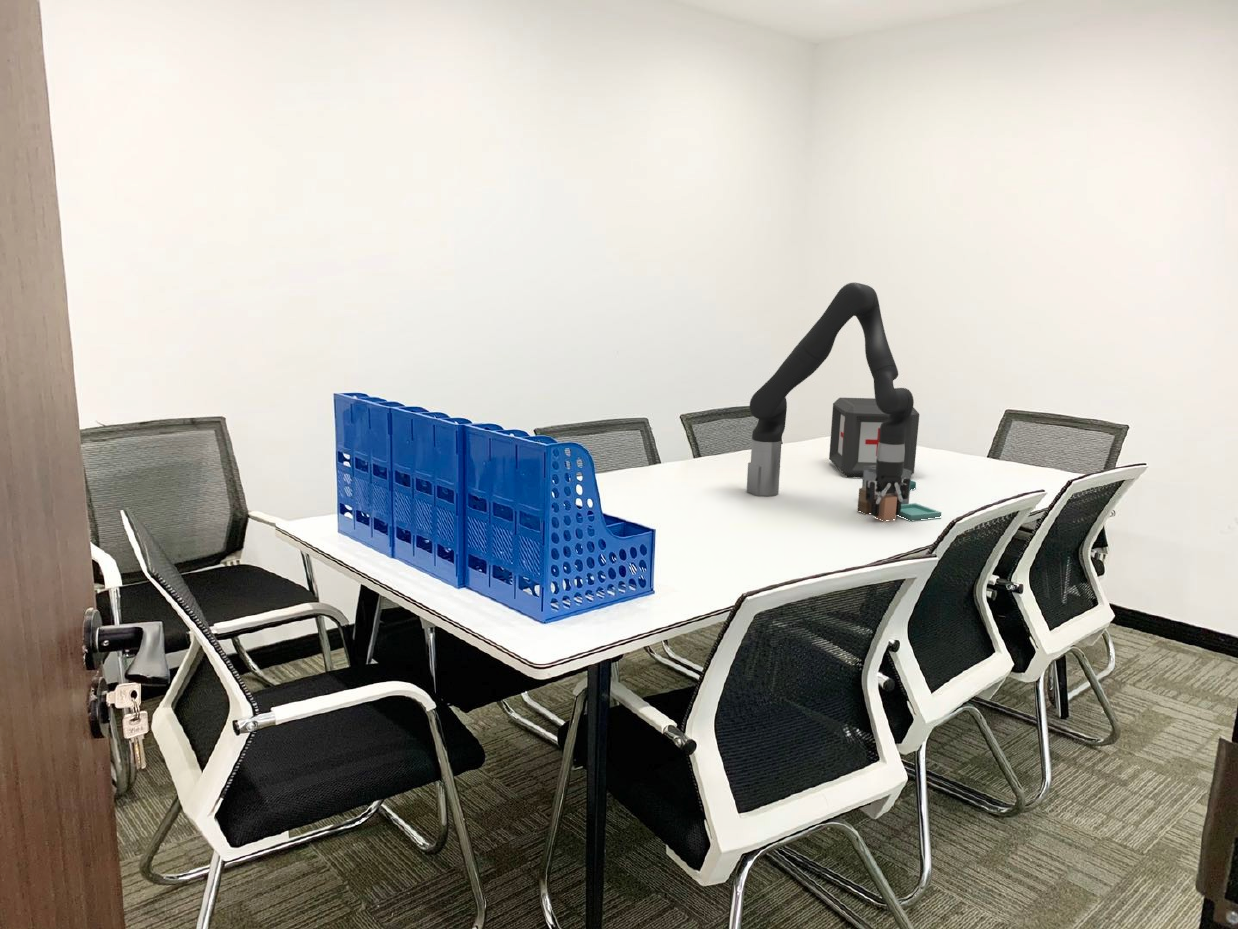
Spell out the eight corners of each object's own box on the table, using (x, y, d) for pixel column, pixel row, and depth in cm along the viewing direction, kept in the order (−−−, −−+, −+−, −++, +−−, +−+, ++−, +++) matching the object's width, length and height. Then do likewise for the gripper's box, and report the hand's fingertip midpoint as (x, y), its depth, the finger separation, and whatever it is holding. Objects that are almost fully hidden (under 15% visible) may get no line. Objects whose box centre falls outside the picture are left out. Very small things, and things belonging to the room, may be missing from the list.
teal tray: (910, 521, 258) (911, 515, 258) (885, 511, 268) (886, 506, 268) (940, 518, 263) (941, 512, 262) (914, 508, 273) (915, 503, 272)
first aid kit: (915, 480, 311) (922, 408, 306) (842, 478, 311) (847, 406, 306) (895, 465, 335) (901, 398, 330) (827, 463, 336) (832, 396, 330)
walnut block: (865, 514, 265) (867, 491, 264) (857, 511, 269) (859, 488, 267) (877, 513, 267) (878, 490, 265) (868, 510, 270) (870, 487, 269)
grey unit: (880, 508, 272) (883, 473, 270) (859, 500, 281) (862, 466, 279) (910, 505, 276) (913, 470, 274) (888, 498, 285) (891, 464, 283)
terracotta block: (883, 521, 258) (885, 497, 256) (874, 518, 261) (876, 494, 260) (895, 520, 259) (897, 496, 258) (885, 517, 263) (888, 493, 262)
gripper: (901, 454, 263) (896, 509, 266) (861, 457, 257) (856, 513, 261) (919, 459, 256) (914, 516, 260) (878, 462, 251) (873, 520, 254)
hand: (885, 514), depth 260 cm, fingers open, 7 cm apart
